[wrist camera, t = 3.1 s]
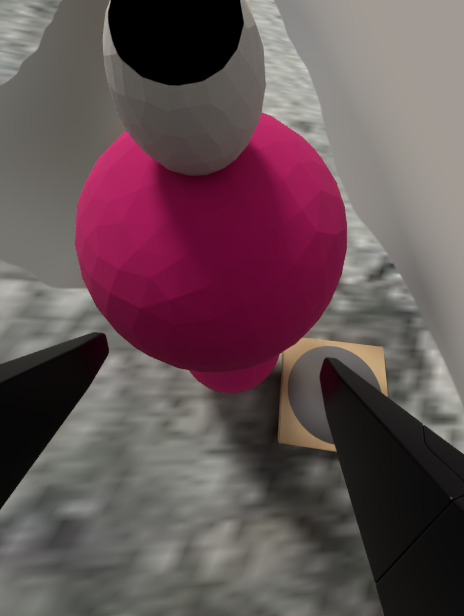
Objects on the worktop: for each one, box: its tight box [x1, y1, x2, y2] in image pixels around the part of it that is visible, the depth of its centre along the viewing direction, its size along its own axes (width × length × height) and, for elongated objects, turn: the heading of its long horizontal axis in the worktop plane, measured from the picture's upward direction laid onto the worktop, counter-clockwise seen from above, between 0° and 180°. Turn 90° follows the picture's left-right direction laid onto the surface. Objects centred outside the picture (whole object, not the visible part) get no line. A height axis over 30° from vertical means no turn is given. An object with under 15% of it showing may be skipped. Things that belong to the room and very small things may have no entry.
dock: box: [278, 338, 388, 451], centre depth 19 cm, size 8×8×1 cm
